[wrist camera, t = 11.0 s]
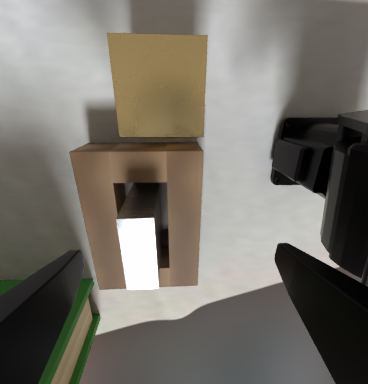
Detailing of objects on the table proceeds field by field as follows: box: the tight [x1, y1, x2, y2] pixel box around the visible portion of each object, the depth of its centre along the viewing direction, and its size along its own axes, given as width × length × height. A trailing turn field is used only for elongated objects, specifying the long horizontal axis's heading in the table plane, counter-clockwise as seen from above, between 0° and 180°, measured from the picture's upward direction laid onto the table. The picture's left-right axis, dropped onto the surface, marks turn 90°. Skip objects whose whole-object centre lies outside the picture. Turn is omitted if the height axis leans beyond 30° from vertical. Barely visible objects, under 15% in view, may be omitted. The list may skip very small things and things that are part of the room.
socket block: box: [69, 142, 203, 290], centre depth 20 cm, size 10×14×4 cm
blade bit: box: [116, 182, 162, 290], centre depth 18 cm, size 2×6×7 cm, turn 0°
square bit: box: [107, 33, 208, 137], centre depth 14 cm, size 5×5×7 cm
